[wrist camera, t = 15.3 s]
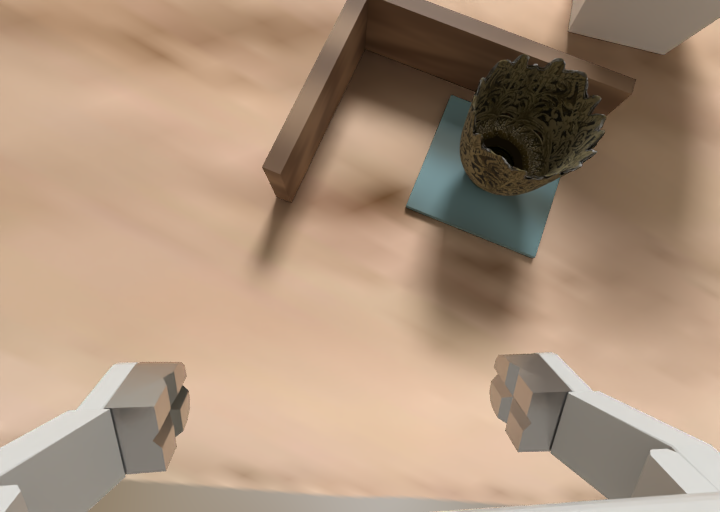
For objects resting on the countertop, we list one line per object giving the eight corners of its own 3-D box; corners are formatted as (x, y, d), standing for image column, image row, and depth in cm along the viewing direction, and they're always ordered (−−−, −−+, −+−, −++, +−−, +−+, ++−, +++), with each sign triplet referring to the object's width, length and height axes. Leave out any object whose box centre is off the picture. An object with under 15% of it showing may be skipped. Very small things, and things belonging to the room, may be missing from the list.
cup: (433, 210, 28) (467, 161, 20) (443, 121, 29) (479, 42, 22) (533, 226, 28) (607, 183, 20) (538, 136, 29) (608, 64, 22)
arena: (533, 301, 27) (575, 293, 22) (276, 196, 28) (262, 167, 23) (588, 121, 30) (635, 79, 25) (357, 32, 31) (359, -25, 26)
